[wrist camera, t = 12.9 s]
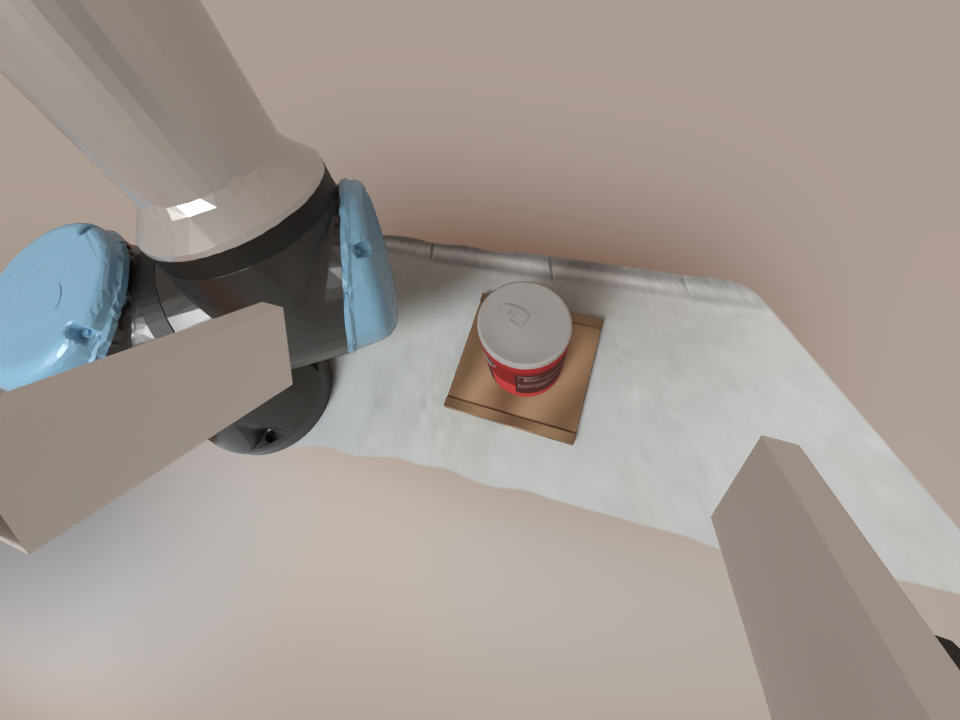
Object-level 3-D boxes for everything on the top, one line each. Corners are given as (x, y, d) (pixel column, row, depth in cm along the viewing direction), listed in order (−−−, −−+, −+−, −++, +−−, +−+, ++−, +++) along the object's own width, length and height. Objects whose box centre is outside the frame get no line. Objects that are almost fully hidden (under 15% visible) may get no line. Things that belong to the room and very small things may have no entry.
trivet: (445, 407, 41) (443, 405, 40) (483, 297, 45) (482, 292, 44) (572, 445, 38) (573, 444, 37) (601, 324, 42) (603, 320, 41)
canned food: (506, 321, 43) (499, 268, 32) (572, 347, 41) (588, 299, 30) (476, 380, 41) (459, 343, 30) (544, 410, 39) (551, 382, 29)
